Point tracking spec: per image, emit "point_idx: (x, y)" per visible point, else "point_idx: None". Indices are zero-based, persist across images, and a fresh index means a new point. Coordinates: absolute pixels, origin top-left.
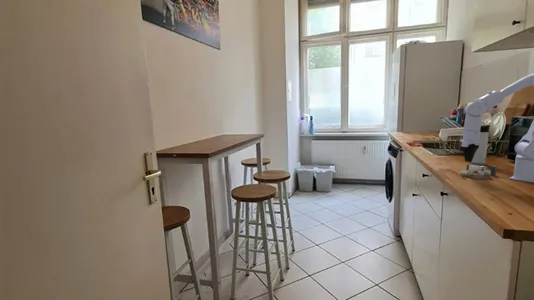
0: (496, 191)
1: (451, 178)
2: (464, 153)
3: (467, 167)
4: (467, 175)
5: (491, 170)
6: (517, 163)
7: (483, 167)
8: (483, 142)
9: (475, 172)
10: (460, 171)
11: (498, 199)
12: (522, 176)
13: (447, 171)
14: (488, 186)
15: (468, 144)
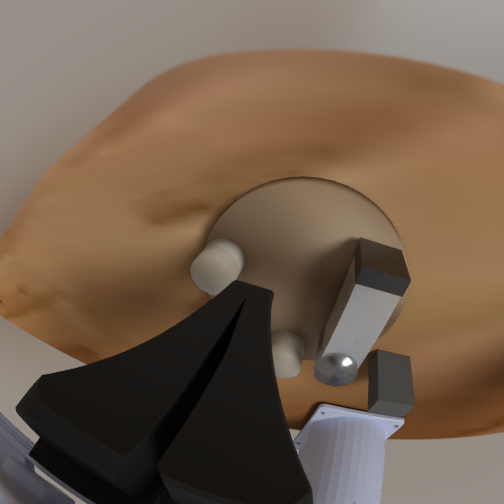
0: (81, 317)
1: (123, 148)
2: (159, 340)
3: (359, 257)
4: (208, 240)
5: (375, 379)
6: (317, 483)
7: (315, 366)
8: None
9: (335, 293)
10: (305, 189)
11: (32, 303)
12: (308, 439)
13: (361, 73)
14: (114, 309)
15: (32, 465)
